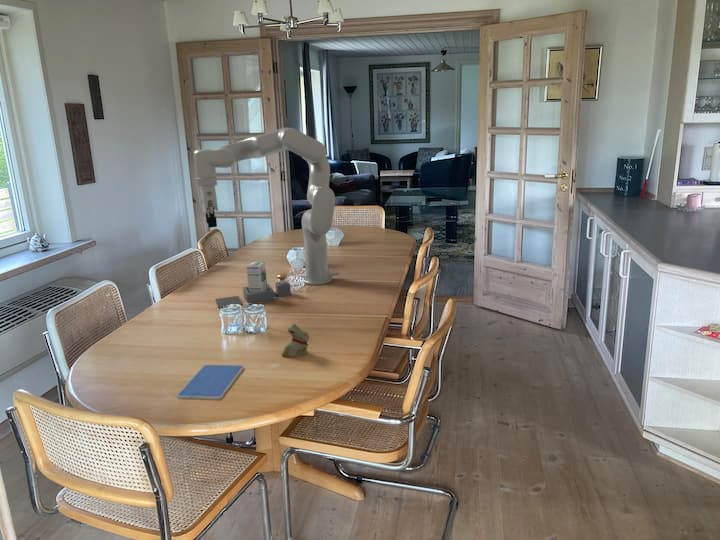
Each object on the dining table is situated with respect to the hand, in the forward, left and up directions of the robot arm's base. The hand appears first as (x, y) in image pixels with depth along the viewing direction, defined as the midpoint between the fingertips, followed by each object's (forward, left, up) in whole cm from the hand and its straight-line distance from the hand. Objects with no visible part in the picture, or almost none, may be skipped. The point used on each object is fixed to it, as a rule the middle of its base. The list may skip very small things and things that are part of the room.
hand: (211, 224), depth 228 cm
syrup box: (-14, +12, -30) cm, 35 cm away
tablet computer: (+11, +81, -30) cm, 87 cm away
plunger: (-24, +12, -27) cm, 38 cm away
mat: (-2, +12, -30) cm, 32 cm away
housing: (-18, +12, -29) cm, 36 cm away
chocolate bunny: (-15, +72, -30) cm, 79 cm away
